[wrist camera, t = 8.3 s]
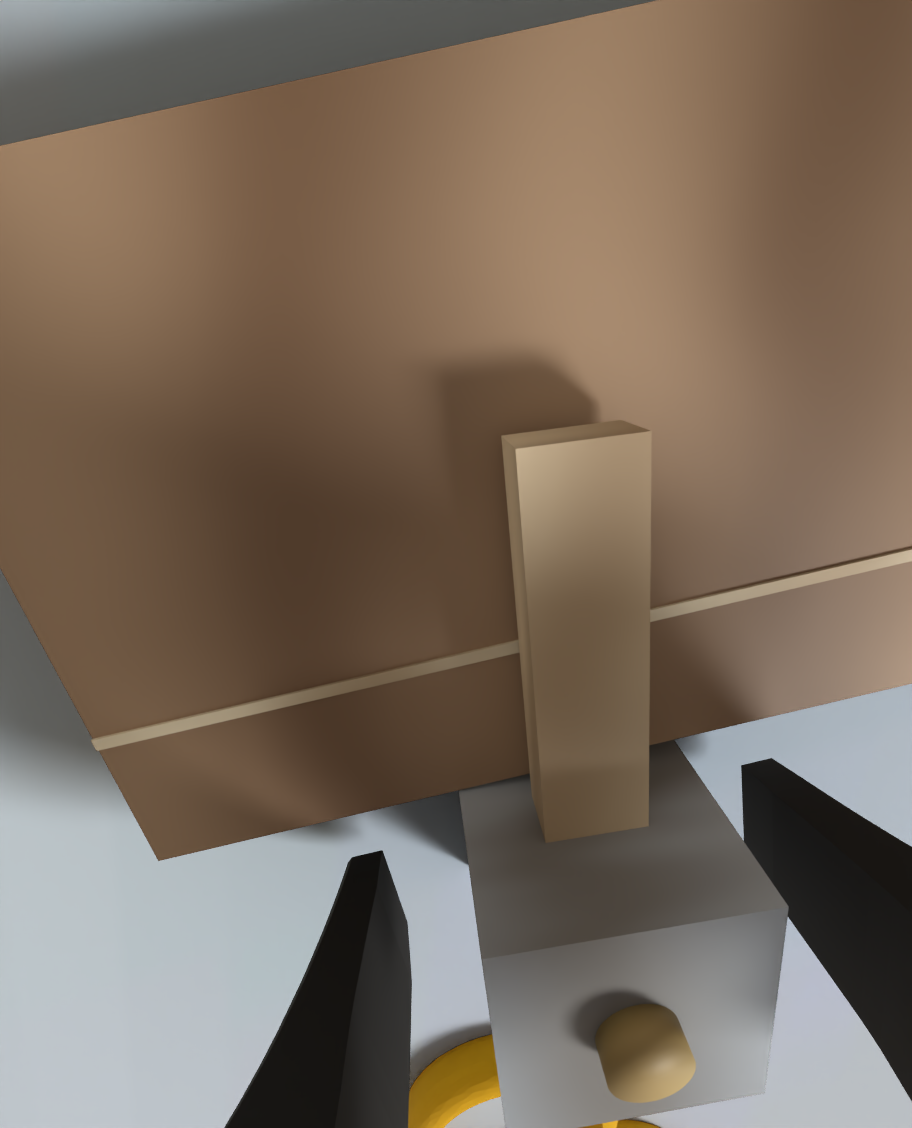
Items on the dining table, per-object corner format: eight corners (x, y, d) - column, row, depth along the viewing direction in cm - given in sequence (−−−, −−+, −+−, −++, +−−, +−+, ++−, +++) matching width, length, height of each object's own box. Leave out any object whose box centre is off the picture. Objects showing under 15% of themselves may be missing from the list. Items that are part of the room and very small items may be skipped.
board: (1576, -143, 8) (1916, -281, 7) (1338, 511, 12) (1510, 544, 10) (-68, 224, 8) (-209, 190, 6) (195, 779, 12) (157, 863, 10)
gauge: (640, 393, 10) (891, 449, 5) (640, 837, 14) (785, 1134, 9) (407, 422, 10) (417, 513, 5) (469, 864, 14) (513, 1185, 8)
